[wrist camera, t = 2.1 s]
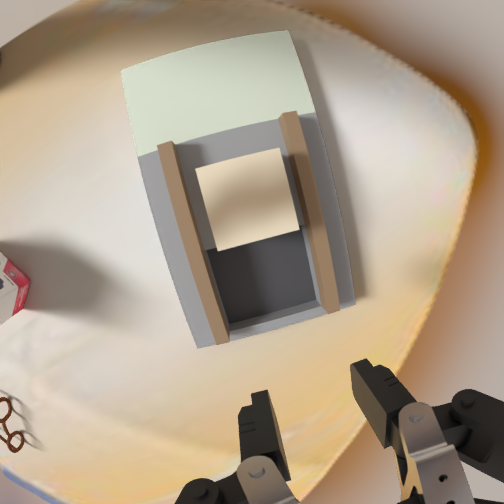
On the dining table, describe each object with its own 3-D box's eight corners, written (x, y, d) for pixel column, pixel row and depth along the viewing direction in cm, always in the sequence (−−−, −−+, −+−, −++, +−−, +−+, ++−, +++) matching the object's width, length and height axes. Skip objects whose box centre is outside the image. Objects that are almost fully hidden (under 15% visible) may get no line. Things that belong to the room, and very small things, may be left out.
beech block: (201, 172, 24) (195, 168, 20) (270, 154, 24) (279, 147, 20) (219, 240, 25) (217, 251, 21) (287, 222, 25) (299, 229, 21)
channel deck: (126, 77, 23) (113, 62, 19) (284, 39, 24) (292, 20, 20) (199, 338, 29) (195, 359, 25) (348, 297, 30) (364, 311, 26)
